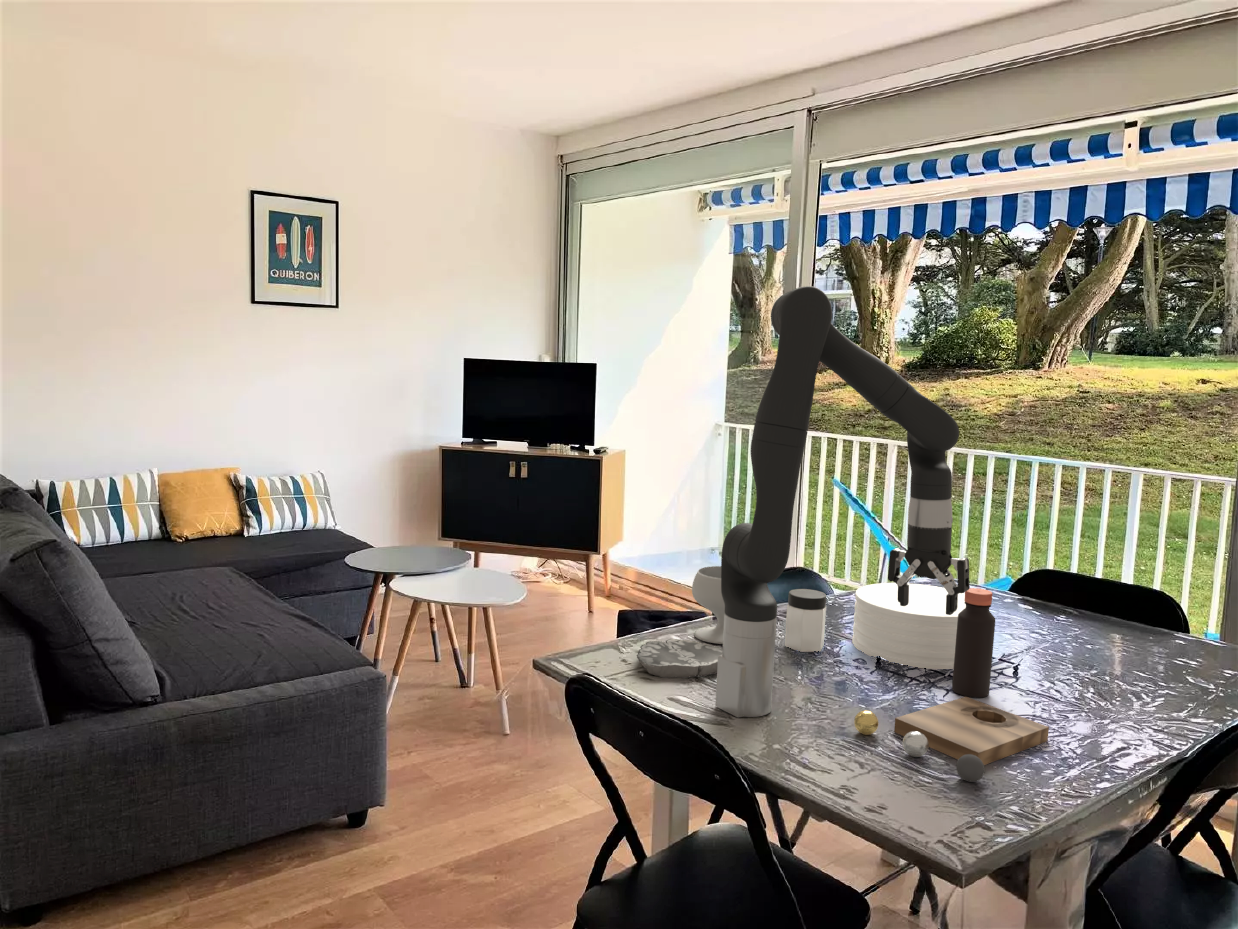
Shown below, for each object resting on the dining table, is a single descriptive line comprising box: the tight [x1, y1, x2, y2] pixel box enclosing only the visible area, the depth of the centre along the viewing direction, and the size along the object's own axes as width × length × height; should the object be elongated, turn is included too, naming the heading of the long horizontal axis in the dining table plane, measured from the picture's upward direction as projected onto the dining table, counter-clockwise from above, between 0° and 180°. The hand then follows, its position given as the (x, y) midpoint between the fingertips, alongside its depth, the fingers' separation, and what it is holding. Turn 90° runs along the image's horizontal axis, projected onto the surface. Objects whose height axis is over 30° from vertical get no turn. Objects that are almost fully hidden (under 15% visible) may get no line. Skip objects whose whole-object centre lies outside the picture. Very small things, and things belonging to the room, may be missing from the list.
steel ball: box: [902, 731, 930, 758], centre depth 148 cm, size 4×4×4 cm
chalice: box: [691, 565, 725, 645], centre depth 207 cm, size 14×14×15 cm
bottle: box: [951, 587, 996, 699], centre depth 178 cm, size 7×7×20 cm
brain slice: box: [636, 638, 723, 679], centre depth 188 cm, size 20×17×3 cm
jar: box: [784, 588, 827, 653], centre depth 203 cm, size 9×8×12 cm
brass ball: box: [853, 709, 879, 736], centre depth 157 cm, size 4×4×4 cm
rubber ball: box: [956, 754, 985, 783], centre depth 140 cm, size 4×4×4 cm
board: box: [893, 696, 1050, 766], centre depth 157 cm, size 20×16×2 cm
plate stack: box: [851, 582, 966, 670], centre depth 205 cm, size 28×28×12 cm
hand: (926, 609), depth 168 cm, fingers open, 8 cm apart
